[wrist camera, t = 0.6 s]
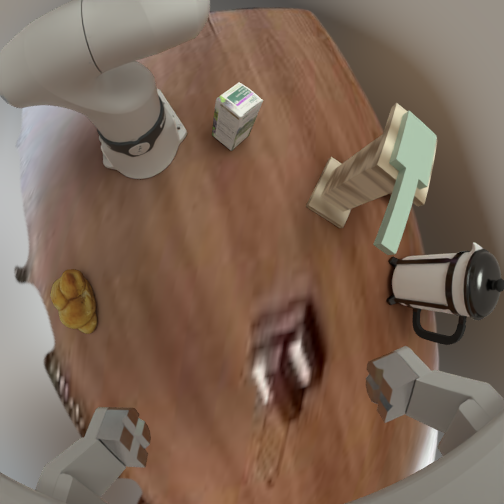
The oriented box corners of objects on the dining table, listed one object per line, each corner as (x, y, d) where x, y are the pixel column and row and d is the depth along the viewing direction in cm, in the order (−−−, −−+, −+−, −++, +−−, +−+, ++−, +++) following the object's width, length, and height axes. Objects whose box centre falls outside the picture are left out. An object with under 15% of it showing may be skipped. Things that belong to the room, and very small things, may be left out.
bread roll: (108, 327, 47) (94, 336, 39) (72, 336, 46) (55, 345, 38) (91, 265, 47) (73, 265, 40) (55, 277, 46) (36, 278, 38)
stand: (340, 228, 56) (424, 204, 31) (305, 206, 55) (377, 164, 30) (360, 180, 58) (437, 139, 32) (328, 159, 57) (396, 102, 31)
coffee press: (368, 280, 57) (475, 286, 27) (407, 238, 59) (505, 223, 30) (398, 332, 58) (493, 360, 28) (433, 290, 60) (523, 297, 31)
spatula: (397, 261, 29) (405, 261, 28) (362, 236, 29) (369, 235, 27) (430, 139, 32) (436, 136, 30) (402, 115, 31) (409, 110, 30)
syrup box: (230, 119, 54) (238, 79, 39) (250, 135, 54) (264, 98, 40) (211, 135, 53) (214, 97, 38) (232, 152, 53) (241, 117, 39)
